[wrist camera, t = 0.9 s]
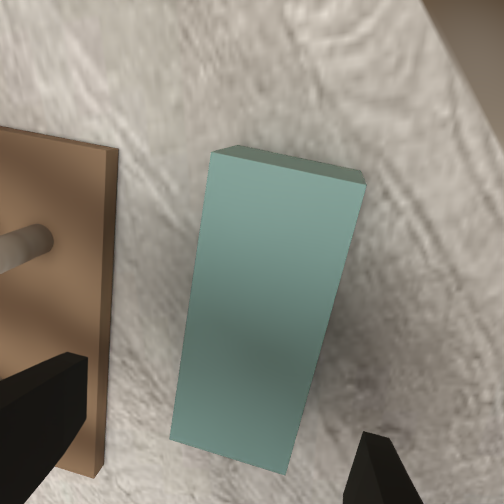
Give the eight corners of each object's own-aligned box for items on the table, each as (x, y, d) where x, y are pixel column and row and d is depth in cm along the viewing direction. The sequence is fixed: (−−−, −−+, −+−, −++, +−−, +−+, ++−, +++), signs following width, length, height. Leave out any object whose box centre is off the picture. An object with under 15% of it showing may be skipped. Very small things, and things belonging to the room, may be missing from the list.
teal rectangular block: (294, 409, 20) (285, 475, 17) (199, 382, 21) (169, 439, 17) (360, 170, 16) (366, 184, 13) (239, 144, 17) (211, 152, 13)
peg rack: (103, 464, 24) (59, 529, 20) (-33, 422, 25) (-98, 476, 21) (118, 148, 18) (59, 157, 14) (-63, 114, 19) (-162, 112, 15)
